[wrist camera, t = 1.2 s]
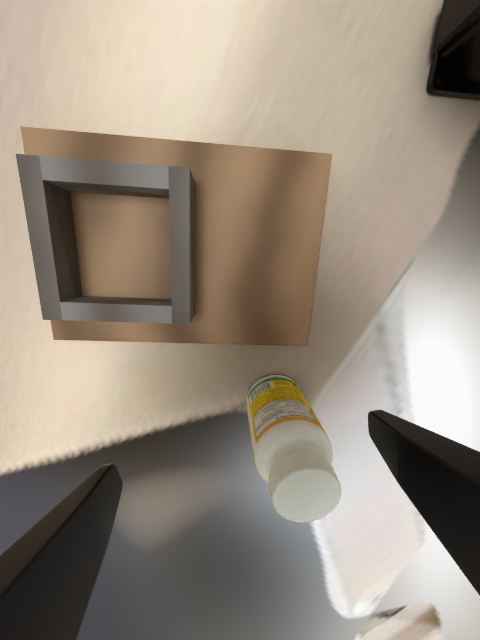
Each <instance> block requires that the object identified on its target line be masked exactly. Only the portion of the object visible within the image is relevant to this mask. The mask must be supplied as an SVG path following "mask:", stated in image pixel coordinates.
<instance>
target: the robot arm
mask: <svg viewBox="0 0 480 640" xmlns="http://www.w3.org/2000/svg"><path fill="white" fill-rule="evenodd" d="M436 81H437V83H438V86H437V85H436ZM428 91H429V92H430V93H431V94H437V95H446V96H455V97H464V98H473V99H480V0H445V2H444V6H443V10H442V15H441V20H440V25H439V30H438V35H437V40H436V44H435V52H434V57H433V62H432V67H431V72H430V77H429V82H428ZM368 428H369V434H370V437H371V439H372V441H373V442H374V444H375V446H376V447H377V449H378V451H379V452H380V454H381V456H382V457H383V459H384V461H385V462H386V464H387V466H388V467H389V469H390V471H391V472H392V474H393V476H394V477H395V479H396V480H397V482H398V483H399V485H400V486H401V488H402V489H403V491H404V492H405V493H406V495H407V496H408V497H409V499H410V500H411V502H412V503H413V504H414V506H415V507H416V509H417V510H418V511H419V513H420V514H421V515H422V517H423V518H424V520H425V521H426V522H427V524H428V525H429V526H430V528H431V529H432V531H433V532H434V533H435V535H436V536H437V537H438V539H439V540H440V541H441V543H442V544H443V545H444V547H445V548H446V550H447V551H448V552H449V554H450V555H451V557H452V558H453V559H454V561H455V562H456V564H457V565H458V566H459V568H460V569H461V570H462V572H463V573H464V575H465V576H466V577H467V579H468V580H469V581H470V583H471V584H472V586H473V587H474V588H475V590H476V591H477V592H478V594H479V595H480V452H478V451H476V450H474V449H471V448H469V447H467V446H464V445H462V444H460V443H457V442H455V441H453V440H450V439H448V438H446V437H443V436H441V435H439V434H436V433H434V432H432V431H429V430H427V429H424V428H422V427H420V426H418V425H415V424H413V423H411V422H408V421H406V420H404V419H401V418H399V417H397V416H394V415H392V414H390V413H387V412H385V411H383V410H375V411H370V412H369V413H368ZM121 492H122V480H121V477H120V475H119V472H118V469H117V467H116V465H115V464H107V465H103V466H101V467H99V468H98V469H97V470H96V471H95V472H94V473H93V474H91V475H90V476H89V477H88V478H87V479H86V480H85V481H84V482H82V483H81V484H80V485H79V486H78V487H77V488H76V489H75V490H73V491H72V492H71V493H70V494H69V495H68V496H67V497H66V498H64V499H63V500H62V501H61V502H60V503H59V504H58V505H57V506H55V507H54V508H53V509H52V510H51V511H50V512H49V513H48V514H46V515H45V516H44V517H43V518H42V519H41V520H40V521H39V522H38V523H36V524H35V525H34V526H33V527H32V528H31V529H30V530H28V531H27V532H26V533H25V534H24V535H23V536H22V537H21V538H19V539H18V540H17V541H16V542H15V543H14V544H13V545H12V546H10V547H9V548H8V549H7V550H6V551H5V552H4V553H3V554H1V555H0V640H77V637H78V634H79V631H80V627H81V624H82V622H83V618H84V616H85V613H86V610H87V607H88V604H89V601H90V598H91V595H92V591H93V589H94V585H95V583H96V580H97V577H98V574H99V571H100V568H101V565H102V562H103V559H104V556H105V553H106V549H107V547H108V544H109V540H110V536H111V533H112V529H113V524H114V520H115V516H116V512H117V508H118V504H119V500H120V496H121Z"/></svg>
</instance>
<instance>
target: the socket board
mask: <svg viewBox="0 0 480 640" xmlns="http://www.w3.org/2000/svg"><path fill="white" fill-rule="evenodd" d="M21 133H22V139H23V145H24V152H25V155H24V154H16V158H17V164H18V170H19V176H20V182H21V188H22V194H23V200H24V206H25V212H26V219H27V225H28V231H29V237H30V243H31V249H32V255H33V261H34V267H35V273H36V279H37V285H38V292H39V298H40V304H41V310H42V316H43V320H51V325H52V331H53V338H54V340H89V341H129V342H169V343H209V344H250V345H290V346H307V342H308V335H309V327H310V319H311V312H312V304H313V296H314V289H315V281H316V273H317V266H318V258H319V250H320V243H321V235H322V227H323V220H324V212H325V204H326V196H327V189H328V181H329V173H330V166H331V158H332V154H325V153H314V152H303V151H291V150H280V149H269V148H257V147H246V146H235V145H223V144H212V143H201V142H190V141H178V140H167V139H156V138H144V137H133V136H122V135H110V134H99V133H88V132H76V131H65V130H54V129H42V128H31V127H21Z"/></svg>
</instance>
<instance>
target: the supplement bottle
mask: <svg viewBox="0 0 480 640" xmlns="http://www.w3.org/2000/svg"><path fill="white" fill-rule="evenodd" d="M246 405H247V412H248V419H249V425H250V433H251V439H252V446H253V454H254V460H255V465H256V468H257V470H258V472H259V474H260V476H261V477H262V478H263V479H264V480H265V481H266V482H267V483H268V484H269V489H270V493H271V497H272V502H273V505H274V507H275V509H276V511H277V512H278V513H279V514H280V515H281V516H282V517H284V518H286V519H288V520H291V521H295V522H310V521H315V520H318V519H320V518H323V517H324V516H326V515H327V514H329V513H330V512H331V511H332V510H333V509H334V508H335V507H336V506H337V504H338V502H339V500H340V497H341V486H340V483H339V480H338V478H337V476H336V474H335V472H334V470H333V467H332V466H331V461H332V448H331V444H330V441H329V439H328V437H327V435H326V433H325V431H324V429H323V428H322V426H321V424H320V422H319V421H318V419H317V417H316V416H315V414H314V412H313V410H312V409H311V407H310V405H309V403H308V402H307V400H306V398H305V396H304V395H303V393H302V391H301V390H300V388H299V387H298V385H297V384H296V383H295V382H294V381H293V380H292V379H290V378H288V377H286V376H282V375H269V376H266V377H264V378H261V379H260V380H258V381H257V382H256V383H254V384H253V386H252V387H251V388H250V390H249V392H248V395H247V399H246Z"/></svg>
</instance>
